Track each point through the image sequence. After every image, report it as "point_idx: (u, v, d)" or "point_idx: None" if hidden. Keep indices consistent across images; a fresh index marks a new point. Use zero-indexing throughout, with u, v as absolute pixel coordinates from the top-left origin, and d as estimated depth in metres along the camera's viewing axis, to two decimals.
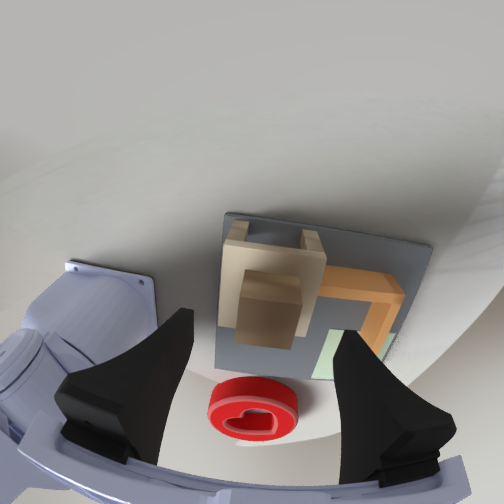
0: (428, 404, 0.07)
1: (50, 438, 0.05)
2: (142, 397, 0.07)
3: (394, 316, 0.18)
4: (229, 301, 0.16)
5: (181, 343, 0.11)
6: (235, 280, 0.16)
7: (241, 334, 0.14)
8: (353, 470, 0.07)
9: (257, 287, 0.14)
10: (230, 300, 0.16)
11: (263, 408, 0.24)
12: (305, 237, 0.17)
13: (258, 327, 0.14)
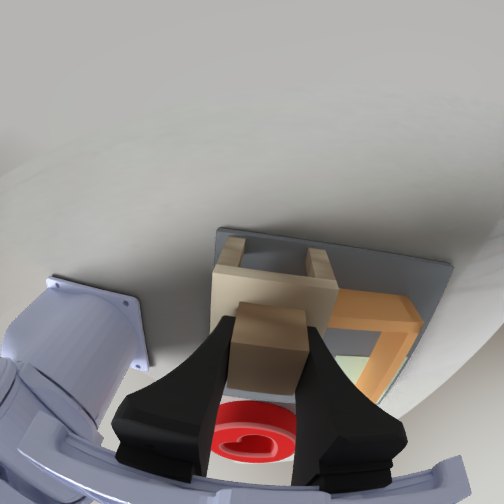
0: (378, 409, 0.07)
1: (50, 438, 0.05)
2: (208, 413, 0.07)
3: (410, 345, 0.15)
4: None
5: (229, 352, 0.11)
6: (228, 313, 0.13)
7: (234, 380, 0.11)
8: (301, 472, 0.07)
9: (253, 327, 0.11)
10: None
11: (262, 434, 0.21)
12: (312, 259, 0.15)
13: (255, 374, 0.11)
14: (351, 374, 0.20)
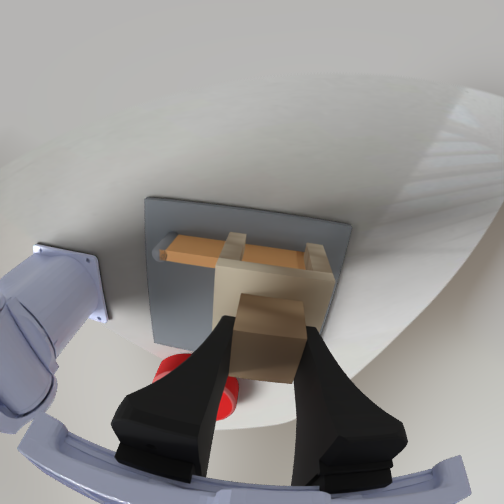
0: (378, 409, 0.07)
1: (50, 438, 0.05)
2: (208, 413, 0.07)
3: None
4: None
5: (229, 352, 0.11)
6: (230, 304, 0.14)
7: (236, 368, 0.12)
8: (301, 472, 0.07)
9: (254, 317, 0.12)
10: None
11: None
12: (310, 253, 0.15)
13: (255, 361, 0.12)
14: None
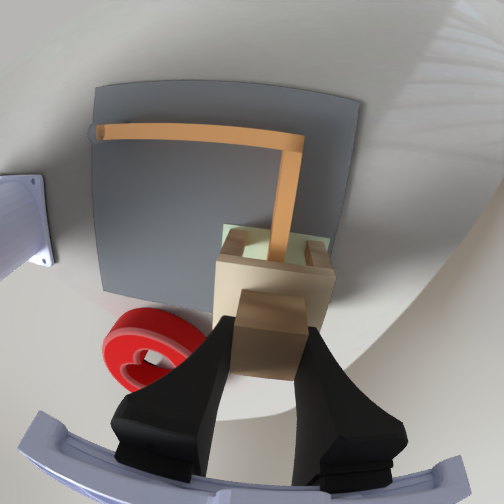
0: (378, 409, 0.07)
1: (50, 438, 0.05)
2: (208, 413, 0.07)
3: (295, 175, 0.12)
4: None
5: (228, 352, 0.11)
6: (230, 301, 0.14)
7: (237, 365, 0.12)
8: (301, 472, 0.07)
9: (255, 312, 0.12)
10: None
11: (155, 349, 0.19)
12: (311, 250, 0.15)
13: (256, 358, 0.12)
14: None
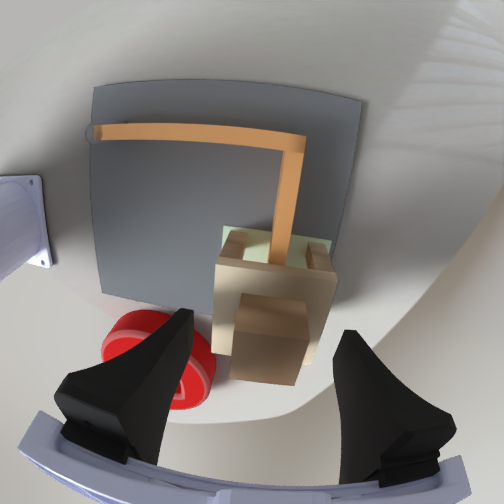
0: (428, 404, 0.07)
1: (50, 438, 0.05)
2: (142, 397, 0.07)
3: (297, 176, 0.12)
4: (223, 327, 0.14)
5: (181, 343, 0.11)
6: (230, 304, 0.13)
7: (237, 370, 0.12)
8: (353, 470, 0.07)
9: (255, 317, 0.11)
10: (225, 326, 0.14)
11: None
12: (312, 252, 0.15)
13: (256, 363, 0.11)
14: None
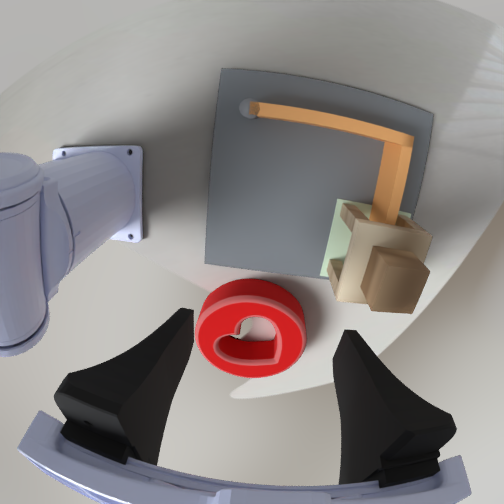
0: (428, 404, 0.07)
1: (50, 438, 0.05)
2: (142, 397, 0.07)
3: (407, 163, 0.15)
4: (353, 276, 0.17)
5: (181, 343, 0.11)
6: (363, 255, 0.17)
7: (380, 302, 0.15)
8: (353, 470, 0.07)
9: (393, 259, 0.15)
10: (354, 275, 0.17)
11: (263, 315, 0.22)
12: (405, 220, 0.18)
13: (395, 294, 0.14)
14: None
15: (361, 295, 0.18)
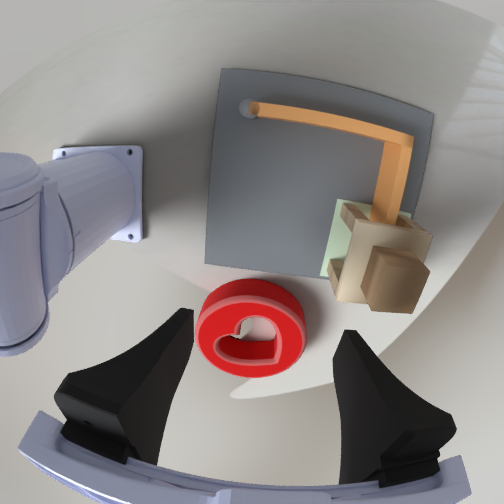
0: (428, 404, 0.07)
1: (50, 438, 0.05)
2: (142, 397, 0.07)
3: (407, 163, 0.15)
4: (353, 276, 0.17)
5: (181, 343, 0.11)
6: (363, 255, 0.17)
7: (380, 302, 0.15)
8: (353, 470, 0.07)
9: (393, 259, 0.15)
10: (354, 275, 0.17)
11: (263, 315, 0.22)
12: (405, 220, 0.18)
13: (395, 294, 0.14)
14: None
15: (361, 295, 0.18)
